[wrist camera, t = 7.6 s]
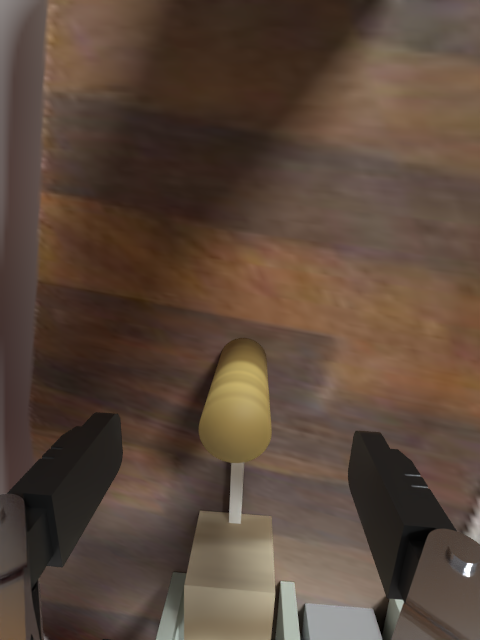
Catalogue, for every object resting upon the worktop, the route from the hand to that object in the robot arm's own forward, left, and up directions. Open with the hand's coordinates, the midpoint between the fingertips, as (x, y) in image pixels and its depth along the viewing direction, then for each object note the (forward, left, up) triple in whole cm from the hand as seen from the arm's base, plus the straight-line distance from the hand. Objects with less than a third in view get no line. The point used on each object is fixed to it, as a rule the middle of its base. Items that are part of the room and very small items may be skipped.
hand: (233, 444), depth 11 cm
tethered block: (+8, 0, -9) cm, 12 cm away
